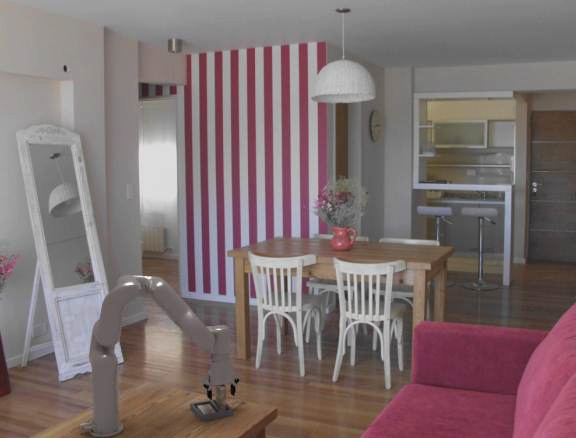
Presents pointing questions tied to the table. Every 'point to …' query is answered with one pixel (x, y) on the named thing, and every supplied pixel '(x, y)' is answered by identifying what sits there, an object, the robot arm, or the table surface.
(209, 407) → the offcut upper
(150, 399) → the table surface
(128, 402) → the table surface
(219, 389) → the birch sheet
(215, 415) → the rack
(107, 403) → the robot arm
